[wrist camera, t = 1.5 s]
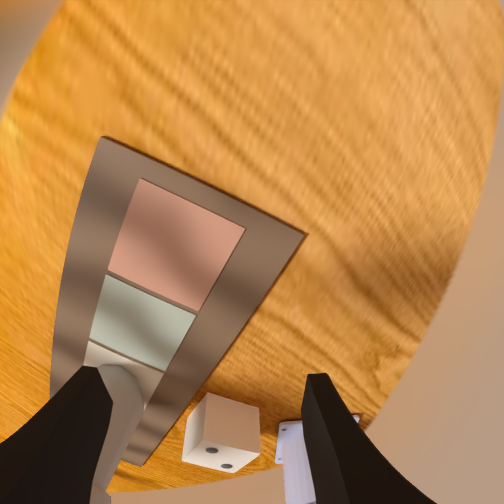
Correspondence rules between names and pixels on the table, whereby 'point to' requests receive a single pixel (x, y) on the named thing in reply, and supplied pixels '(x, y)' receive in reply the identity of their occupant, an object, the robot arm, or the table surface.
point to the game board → (159, 281)
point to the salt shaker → (116, 426)
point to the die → (222, 434)
